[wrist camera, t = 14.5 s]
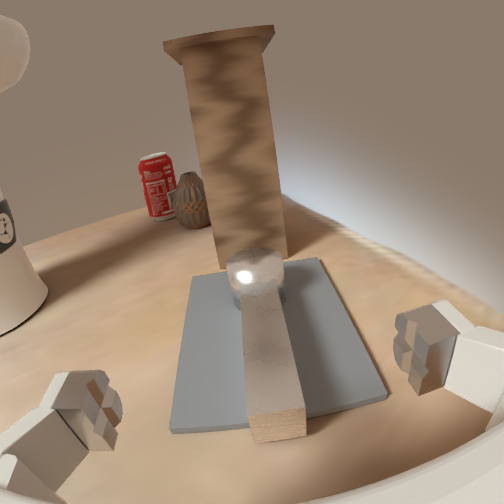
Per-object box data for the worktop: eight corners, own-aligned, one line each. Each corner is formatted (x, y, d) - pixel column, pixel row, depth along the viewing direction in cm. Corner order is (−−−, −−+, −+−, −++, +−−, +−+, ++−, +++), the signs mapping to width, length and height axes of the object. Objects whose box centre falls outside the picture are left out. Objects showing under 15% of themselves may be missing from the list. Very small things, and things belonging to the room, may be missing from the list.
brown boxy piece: (207, 275, 37) (160, 24, 25) (211, 235, 48) (178, 45, 36) (302, 259, 37) (270, 7, 25) (285, 223, 48) (259, 33, 36)
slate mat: (172, 433, 18) (169, 428, 18) (193, 281, 36) (192, 276, 36) (386, 399, 18) (387, 393, 18) (317, 261, 36) (316, 257, 36)
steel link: (237, 445, 16) (223, 406, 15) (233, 287, 33) (225, 252, 31) (323, 432, 16) (324, 391, 15) (282, 280, 33) (278, 243, 31)
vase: (213, 214, 57) (204, 166, 54) (224, 225, 51) (214, 171, 48) (175, 224, 56) (164, 175, 52) (181, 236, 50) (169, 181, 46)
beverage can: (173, 208, 65) (160, 151, 60) (188, 213, 60) (175, 150, 55) (145, 219, 61) (131, 160, 56) (159, 224, 57) (144, 159, 52)
